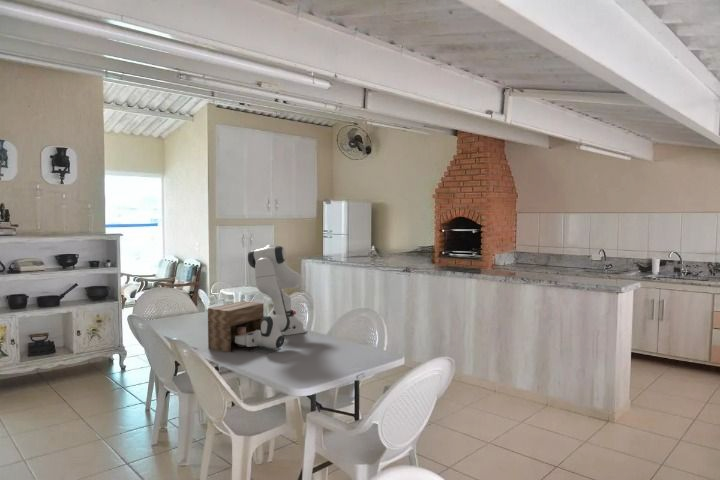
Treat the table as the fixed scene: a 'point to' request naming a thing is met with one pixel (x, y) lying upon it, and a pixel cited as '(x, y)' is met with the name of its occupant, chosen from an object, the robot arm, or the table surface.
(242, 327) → the canister
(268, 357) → the table surface
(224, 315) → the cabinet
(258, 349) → the mat
